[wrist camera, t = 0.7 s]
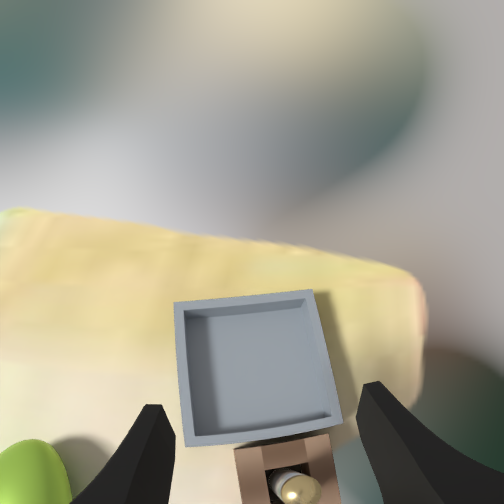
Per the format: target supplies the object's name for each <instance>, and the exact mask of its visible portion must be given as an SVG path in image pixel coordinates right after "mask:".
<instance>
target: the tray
mask: <svg viewBox="0 0 504 504" xmlns="http://www.w3.org/2000/svg"><path fill="white" fill-rule="evenodd" d="M174 322H175V341H176V357H177V371H178V383H179V394H180V405H181V414H182V424H183V432H184V441H185V447H197V446H211V445H223V444H232V443H241V442H249V441H257V440H263V439H270V438H276V437H282V436H288V435H293V434H298V433H303V432H308V431H313V430H317V429H322V428H326V427H330V426H334V425H338V424H342V423H343V418H342V413H341V409H340V404H339V399H338V395H337V390H336V386H335V381H334V377H333V372H332V368H331V363H330V359H329V355H328V351H327V346H326V342H325V338H324V334H323V330H322V326H321V322H320V318H319V314H318V310H317V306H316V302H315V298H314V294H313V290H312V289H308V290H299V291H290V292H281V293H272V294H262V295H252V296H242V297H231V298H220V299H208V300H196V301H184V302H174Z"/></svg>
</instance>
